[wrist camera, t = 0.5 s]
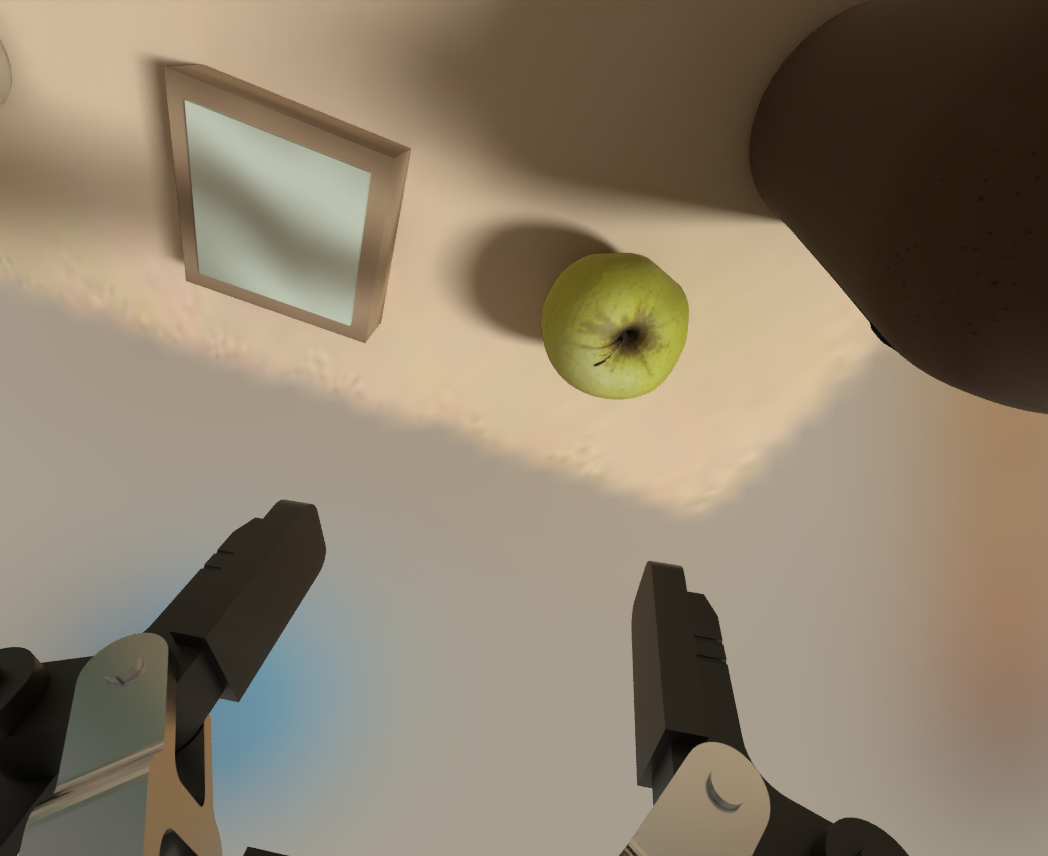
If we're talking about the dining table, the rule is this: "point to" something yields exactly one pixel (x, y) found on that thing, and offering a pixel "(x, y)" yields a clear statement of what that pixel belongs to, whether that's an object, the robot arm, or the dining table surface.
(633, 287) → the apple
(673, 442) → the dining table surface
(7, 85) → the plastic bottle
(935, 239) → the olive oil
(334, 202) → the walnut base
